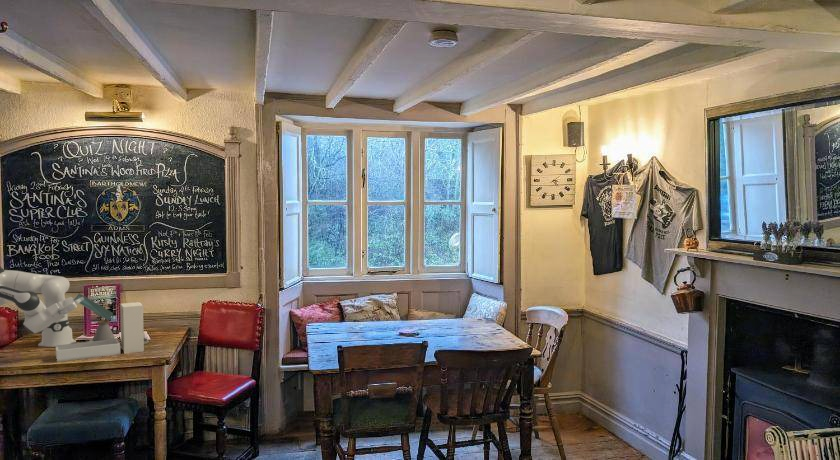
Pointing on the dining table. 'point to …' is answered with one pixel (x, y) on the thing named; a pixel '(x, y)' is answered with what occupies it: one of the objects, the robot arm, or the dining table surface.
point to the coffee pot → (103, 331)
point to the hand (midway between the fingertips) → (82, 296)
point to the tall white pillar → (132, 327)
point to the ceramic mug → (145, 340)
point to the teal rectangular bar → (94, 307)
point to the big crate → (87, 350)
